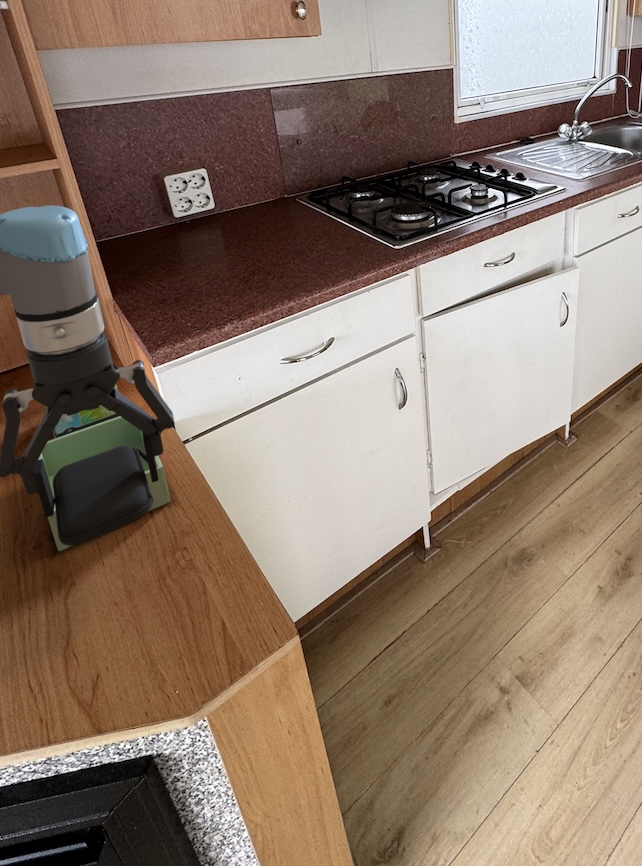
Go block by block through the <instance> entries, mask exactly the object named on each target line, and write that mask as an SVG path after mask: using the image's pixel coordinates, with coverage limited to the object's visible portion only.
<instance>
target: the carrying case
mask: <svg viewBox="0 0 642 866" xmlns="http://www.w3.org/2000/svg"><path fill="white" fill-rule="evenodd" d="M140 456H141V457H142V458H143V459H144V460H145V461H146V462H147V463H148V461H147V456H146V453H144V452H143V451H142V450H141V449H134V448H132V447H129V446H120V447H116V448H114V449H111V450H108V451H105V452H102V453H99V454H97V455H94V456H91V457H88V458H85V459H82V460H80V461H77V462H74V463H71V464H68V465H66V466H64V467H62V468H61V469H60V470H59V471H58V472H57V474H56V475H55V477H54V478H53V491H54V500H55V509H56V519H57V528H58V536H59V540H60V542H61V543H62V544H64V545H68V546H71V547H76V546H81V545H84V544H86V543H89V542H91V541H93V540H95V539H97V538H101V537H103V536H105V535H108V534H110V533H112V532H114V531H116V530H120V529H122V528H124V527H125V526H128V525H131V524H133V523H135V522H138V521H139V520H141V519H143V518H145V516H146V515H147V514H148V513H149V512H150V511H149V510H150V508H151V507H152V504H153V497H152V495H151V491H150V488H149V485H148V481H147V478H146V474H145V471H144V468H143V464H142V461H141V458H140ZM148 511H149V512H148Z"/></svg>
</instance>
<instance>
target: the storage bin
mask: <svg viewBox="0 0 642 866" xmlns="http://www.w3.org/2000/svg"><path fill="white" fill-rule="evenodd" d="M120 446H129V447H132V448H134V449H141V450H142V451H143V452H144V453H146V452H145V447H144V442H143V432H142V431H141V430H139V429H138V428H136V427H135V426H134V425H132V424H131V423H129V422H128V421H126V420H125V419H124V418H122V417H121V416H119V417H116V418H113V419H110V420H107V421H105V422H102V423H99V424H96V425H93V426H90V427H87V428H84V429H82V430H79V431H76V432H73V433H70V434H67V435H64V436H61V437H59V438H56V439H55V438H53V439H49V440H48V442H47V444H46V445H45V447H44V449H43V451H42V453H41V455H40V457H39V459H38V460H40V459H43V461H44V465H45V468H46V472H47V475H48V479H49V482H50V485H51V489H52V492H53V496H54V491H53V478H54V477H55V475H56V474H57V472H58V471H59V470H60V469H61V468H62V467H64V466H66V465H68V464H71V463H74V462H77V461H80V460H82V459H85V458H88V457H91V456H94V455H97V454H99V453H102V452H105V451H108V450H111V449H114V448H116V447H120ZM140 458H141V461H142V464H143V468H144V471H145V474H146V478H147V481H148V485H149V488H150V491H151V495H152V497H153V504H152V507H151V508H150V510H149V511H148V512H147V513H149V512H151V511H153V510H155V509H157V508H160V507H162V506H164V505H166V504H169V503H171V496H170V492H169V487H168V482H167V479H166V473H165V470H164V466H163V463H162V461H161V459H160V457H159V455H158V456H155V460H156V465H157V470H158V479H159V481H156V482H153V483H152V479H151V475H150V470H149V466H148V463H147V462H146V461H145V460H144V459H143V458H142V457H141V456H140ZM47 520H48V523H49V526H50V529H51V533H52V536H53V539H54V542H55V545H56V548H57V551H58V552H59V553H60V552H62V551H64V550H66V549H68V548H70V547H72V546H68V545H64V544H62V543H61V542H60V540H59V536H58V528H57V519H56V509H55V504H54V515H53V516H50V517H47Z"/></svg>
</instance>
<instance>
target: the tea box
mask: <svg viewBox="0 0 642 866" xmlns="http://www.w3.org/2000/svg"><path fill="white" fill-rule="evenodd" d="M115 388H116V389H118V386H117V384H116V385H115ZM43 407H44V412H46V409H47V407H46V406H45V405H43ZM116 417H119V415H118V414H116V413H115V412H114V411H109V410H108V409H106V408H105V407H103V406H102V405H100V406H99V408H96V409H93V410H83V411H81V412H79V413H76V414H73V415H70V416H67V414H63V415H62V417H61V419H60V420H59V422H58V424H57V426H55V428H54V430H53V432H52V435H53V437H54V439H56V438H59V437H61V436H64V435H67V434H70V433H73V432H76V431H79V430H82V429H84V428H87V427H90V426H93V425H96V424H99V423H102V422H105V421H107V420H110V419H113V418H116Z"/></svg>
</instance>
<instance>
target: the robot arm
mask: <svg viewBox="0 0 642 866" xmlns="http://www.w3.org/2000/svg"><path fill="white" fill-rule="evenodd" d="M89 254H90V253H89V244H88V240H87V239H86V237H85V235H84V232H83V229H82V225H81V222H80V218H79V216H78V214H77V213H76V212H75V211H74V210H73V209H70V208H68V207H65V206H61V205H42V206H27V207H26V206H25V207H19V208H16V209H12V210H8V211H5V212H2V213H1V214H0V296H9V297H10V300H11V301H10V302H11V304H12V307H13V311H14V315H15V317H16V320H17V321H16V322H17V325H18V329H19V332H20V336H21V339H22V343H23V346H24V347H25V349H26V350H27V351H26V357H27V361H28V364H29V367H30V371H31V375H32V378H33V387H31V388H28V389H24V390H21V391H20V390H19V391H18V390H17V389H14V388H13V389H9V390H7V391H5V393H4V396H3V401H2V404H1V407H2V410H3V413H4V416H5V417H6V418H5V419H6V422H5V427H4V428H5V429H4V433H3V440H2V446H1V451H0V478H6V477H8V476H10V475H19V476H20V477H21V480H22V484H23V486H24V489H25V493H26V494H27V495H28V496H33V495H36V494H38V497H39V500H40V503H41V504H40V505H41V506H42V510H43V513H44V517H45V518H47V519H48V517H50V516H53V515H54V504H55V500H54V496H53V492H52V489H51V485H50V482H49V479H48V475H47V472H46V468H45V465H44V461H43V459H40V460H38V459H39V457H40V455H41V453H42V451H43V449H44V447H45V445H46V444H47V442H48V441H50V438H51V436H52V435H53V430H54V428H55V426H57V424H58V422H59V420H60V419H61V417H62V415H63V414H67V416H70V415H73V414H76V413H79V412H81V411H83V410H93V409H96V408H99V406H100V405H102V406H103V407H105V408H106V409H108V410H109V411H114V412H115V413H116V414H118V415H119V416H121V417H122V418H124V419H125V420H126V421H128V422H129V423H131V424H132V425H134V426H135V427H136V428H138V429H139V430H141V431H142V432H143V442H144V447H145V452H146V456H147V461H148V466H149V470H150V475H151V479H152V483H153V482H156V481H159V479H158V470H157V465H156V460H155V456H158V457H159V456H161V455H163V453H164V444H163V440H162V432H163V431H165V430H167V429H168V430H169V429H172V428H173V427H175V417H174V413H173V411H172V409H171V408H170V406H168V404H167V403H166V401H165V400H164V398H163V397H162V395H161V394H160V393H159V391H158V390H157V388H156V387H155V385H153V383H152V381H151V380H150V378H149V377H148V376H147V375H146V368H145V363H144V361H143V360H141V359H136V360H134V361H133V362H132V364H130V365H126V366H120V367H118V366H117V365H116V364H115V363H114V362H113V359H112V354H111V349H110V346H109V341H108V337H107V333H106V332H105V331H104V330H105V323H104V318H103V314H102V309H101V305H100V304H101V303H100V299H99V297H98V294H97V291H96V289H95V288H96V287H95V285H94V284H95V283H94V277H93V272H92V266H91V260H90V255H89ZM120 379H124V380H125V381H126V383H128V384H130V385H134V386H135V389H136V391H137V392H138V393H139V395H140V396H141V398H142V399H143V401H144V402H145V403H146V404H147V406H148V407H149V408H150V410H151V411H152V413H153V414H154V415H155V416H156V418H155V417H154V416H152V415H151V414H149V412H147V411H146V410H144V409H143V408H141V407H140V406H138V405H137V404H136V403H134V402H133V401H132V400H130V399H129V398H127V396H125V395H123V393H121V392H120V390H119V389H118V388H117V389H116V388H115V385H116V386H117V384H118V382H119V380H120ZM32 401H35V402H37V403H39V404H41V405H43V406H44V405H45V406H46V407H47V409H46V411H44V412H45V413H44V414H43V416H42V418H41V420H40V422H39V423H38V426H37V428H36V430H35V432H34V434H33V436H32V437H31V439H30V441H29V443H28V445H27V447H26V449H25V451H24V453H23V454H22V455H21V457H20V456H19V457H17V456H15V454H16V449H17V443H18V439H19V438H18V437H19V431H20V425H21V419H22V414H23V412H24V411H26V410H27V409H28V408H29V403H30V402H32Z"/></svg>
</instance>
